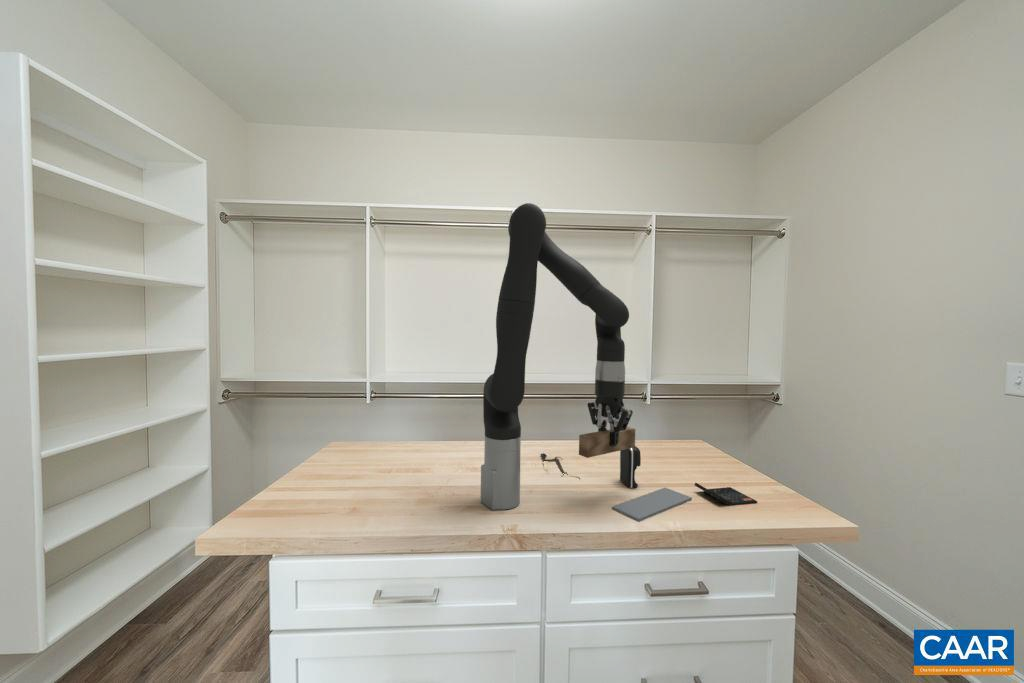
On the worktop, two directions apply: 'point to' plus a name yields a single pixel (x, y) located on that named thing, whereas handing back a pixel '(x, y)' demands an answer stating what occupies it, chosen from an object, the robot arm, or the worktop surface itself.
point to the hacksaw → (556, 462)
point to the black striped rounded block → (629, 466)
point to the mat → (651, 503)
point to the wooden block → (605, 442)
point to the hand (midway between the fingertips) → (608, 443)
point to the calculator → (728, 495)
